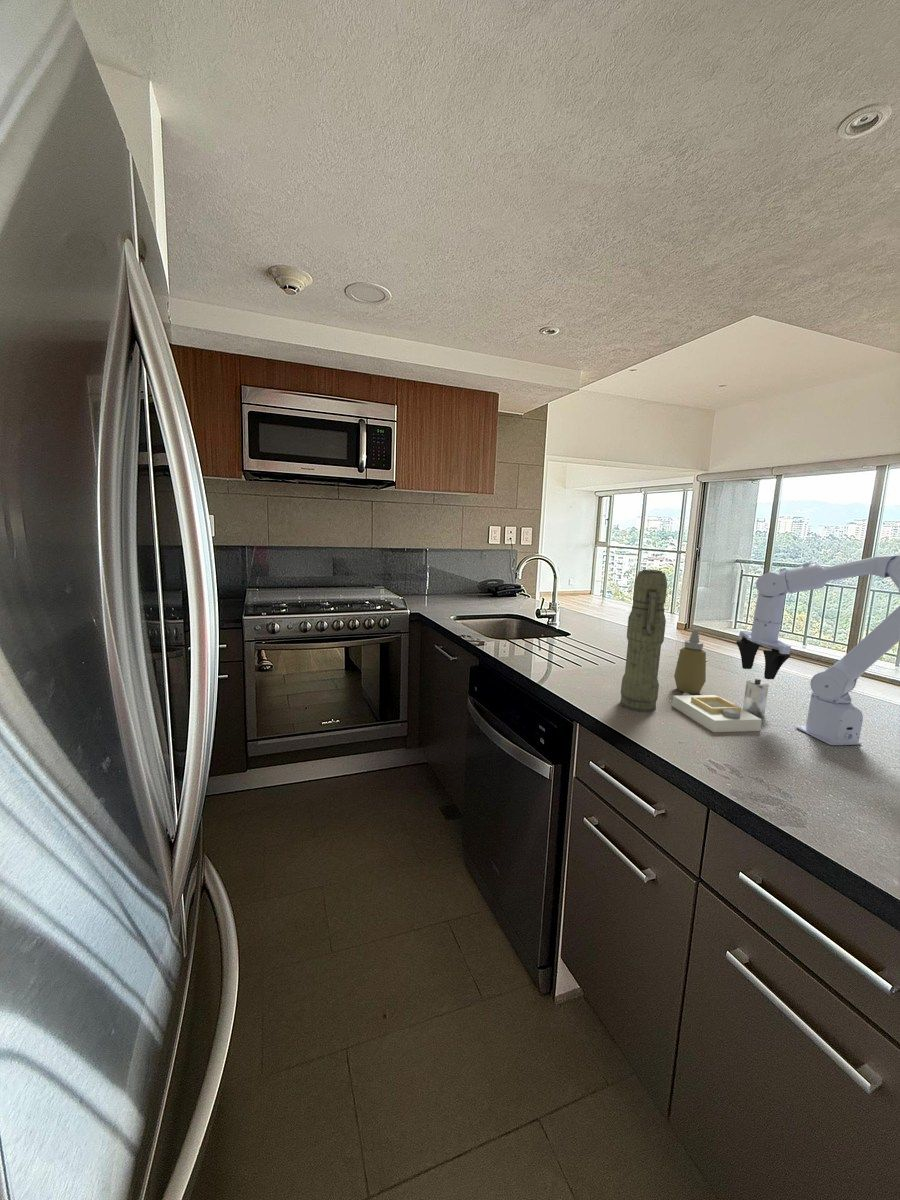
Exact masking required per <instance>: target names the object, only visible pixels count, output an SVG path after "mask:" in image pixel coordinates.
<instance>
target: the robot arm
mask: <svg viewBox="0 0 900 1200" xmlns="http://www.w3.org/2000/svg"><path fill="white" fill-rule="evenodd" d="M868 575H870V576H871V575H873V576H876V577H879V578H890V579H891V581H892V582H893V583H894V584H895V586H896V587H897V589H898V593H899V594H900V554H899V555H897V554H896V555H883V556H872V557H868V558H867V557H866V558H863V559H859V560H853V561H850V562H845V563H840V564H836V565H831V566H827V567H824V566H822V565H820V564H818V563H813V564H812V563H811V562H804V563H802V565H801V566H798V567H797V566H796V567H792V568H785V567H783V568H780V569H779V571H778V572H777V571H776V572H775V571H774V572H772V571H768V572H766V573H763V574H761V575H760V576H759V577H758V578H757V580H756V583H755V587H756V588H755V589H756V590H757V592H758V594H757V599H756V603H755V609H754V614H753V619H752V621H753V622H752V627H751V631H747V630H740V631H739V634H738V638H739V639H740V640H736V645H737V647H738V651H739V654H740V658H741V666H742V667H741V668H742V669H743V670H752V668H753V666H754V662H755V658H756V655H757V652H758V651H759V649H760V647H761V646H763V647H765V648H768V649H769V650H767V649H766V650H765V649H764V650H763V655H764V664H765V665H764V674H763V675H764V676H763V677H764V679H766V680H775V677H776V676H777V674H778V672H779V670H780V669H781V668H782V666H783V665H784V664H785V663H786V661H788V659H789V658H790V657H791V647H792V646H791V645H788V644H786V643H784V642H782V641H781V640H779V636H780V631H781V629H780V628H781V624H782V618H783V613H784V607H785V600H786V595H787V594H788V593H789V594H795V593H800V592H808V591H812V590H813V591H814V590H818V589H823V588H824V587H825V586H826V584H827V583H828V582H829V581H837V580H842V579H847V578H848V579H849V578H854V577H860V576H868ZM899 642H900V605H899V606H897V608H896V609H894V610H893V611H892V612H890V614H889V615H888V616H886V617H885V618H884V619H883V620H882V621H881V622H880V623H879V624H878V625H877V626H875V628H873V630H871V631H870V632H869V633H868V634H867V635H866V636H864V637H863V638H862V640H861V641H859V642H858V643H857V644H856V645H855V646H853V648H852V649H850V651H848V653H846V654H845V655H844V656H842V658H840V659H839V660H838V661H837V662H835V663H834V664H833V665H831V666H829V667H828V668H827V669H825V670H824V671H821V672H817V673H815V674H814V675H813V676H812V678H810V681H809V682H810V684H809V685H810V686H809V687H810V689H811V694H810V700H809V706H808V711H807V712H808V713H807V719H806V724H805V725H795V728H796V729H798V730H800V731H802V732H804V733H805V734H808V735H810V736H811V737H813V738H815V739H818V740H820V741H822V742H824V743H826V744H827V745H830V746H847V745H848V746H849V745H850V746H851V745H852V746H854V745H862V741H860V737H861V736H860V735H861V732H862V727H863V720H864V716H863V712H862V710H860V709H859V708H857V707H856V706H854V705H853V703H852V698H851V695H850V694H849V692H852V691H853V690H854V688H856V686H857V685H856V684H857V681H858V679H859V678H860V677H861V676H862V675H864V673H865V672H866V671H867V670H869V668H871V666H872V665H873V664H875V663H876V662H878V660H880V659H881V658H882V657H883V656H884V655H885V654H886V653H887V652H889V651H890V650H891V649H892V648H893V647H895V645H897V644H898V643H899Z"/></svg>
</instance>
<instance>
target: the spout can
mask: <svg viewBox="0 0 900 1200" xmlns="http://www.w3.org/2000/svg"><path fill="white" fill-rule="evenodd" d="M745 682H746V683H745V690H744V696H743V702H742V709H743V710H745V711H747V712H749V713H750V714H752V715H754V716H756V717H758V718H764V717H765V713H766V712H765V711H766V706H767V699H768V694H769V693H768V692H769V687H770V686H769V684H768V683H766V682H764V681H762V680H761V679H760V678H759V679H758V678H754V680H746V681H745ZM763 716H764V717H763Z"/></svg>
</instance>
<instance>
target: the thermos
mask: <svg viewBox="0 0 900 1200" xmlns="http://www.w3.org/2000/svg"><path fill="white" fill-rule="evenodd" d="M667 591H668V579H667V576H666V573H665V572H663V571H662V570H658V569H656V570H655V569H642V570H639V571H638V573H637V575H636V577H635V580H634V585H633V592H632V593H633V597H632V600H633V603H632V607H631V611H630V613H629V615H628V619H627V629H626V640H627V650H626V661H625V668H624V674H623V676H622V677H621V679H622V680H621V687H620V705H621V706H622V707H624V708H626V709H628V710H632V711H636V712H641V713H642V712H643V713H645V712H647V713H648V712H654V711H655V710H656V709H657V701H658V696H659V688H660V683H659V680H658V675H659V668H660V658H661V648H662V645H663V643H664V641H665V632H666V622H667V619H666V616H665V615H666V614H665V610H666V609H665V604H666V599H667Z"/></svg>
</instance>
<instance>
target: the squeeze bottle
mask: <svg viewBox="0 0 900 1200" xmlns="http://www.w3.org/2000/svg"><path fill="white" fill-rule="evenodd" d="M703 648H704V642H702V641H700V635H699V629H698V628H693V630H692V632H691V634H690V637H689V639H687V640H685V641H684V647H681V648H680V649H679V653H678V654H679V655H678V658H677V662H676V667H675V670H674V676H673V677H674V682H675V686H676V690H678V691H679V692H683V693H685V692H686V693H688V694H690V695H698V694H699V693H701V692H702V689H703V687H704V685H705V683H706V681H707V680H706V678H707V677H706V676H707V675H706V674H707V665H706V664H707V652H706V651H705V650H704V649H703Z"/></svg>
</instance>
